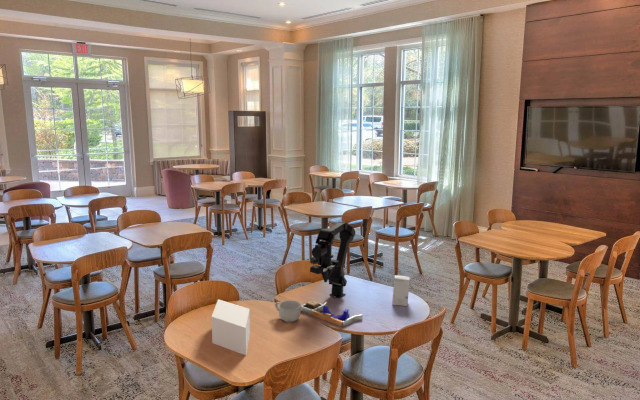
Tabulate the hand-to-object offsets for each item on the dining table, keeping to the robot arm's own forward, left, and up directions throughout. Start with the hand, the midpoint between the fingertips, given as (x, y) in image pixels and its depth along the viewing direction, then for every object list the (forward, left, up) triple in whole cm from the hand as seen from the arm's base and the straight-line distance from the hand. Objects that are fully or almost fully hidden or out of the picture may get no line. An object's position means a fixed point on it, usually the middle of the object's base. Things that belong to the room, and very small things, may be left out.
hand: (325, 282), depth 252 cm
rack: (+9, +12, -12) cm, 19 cm away
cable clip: (+11, +17, -12) cm, 23 cm away
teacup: (+27, -1, -12) cm, 30 cm away
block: (+59, -4, -12) cm, 60 cm away
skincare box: (-28, +29, -12) cm, 42 cm away
